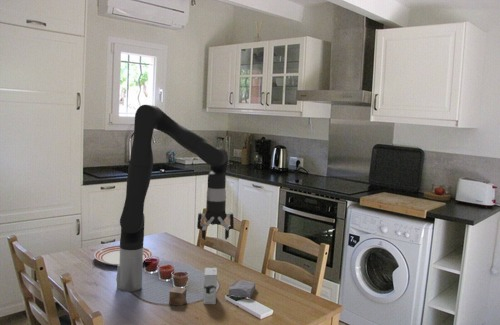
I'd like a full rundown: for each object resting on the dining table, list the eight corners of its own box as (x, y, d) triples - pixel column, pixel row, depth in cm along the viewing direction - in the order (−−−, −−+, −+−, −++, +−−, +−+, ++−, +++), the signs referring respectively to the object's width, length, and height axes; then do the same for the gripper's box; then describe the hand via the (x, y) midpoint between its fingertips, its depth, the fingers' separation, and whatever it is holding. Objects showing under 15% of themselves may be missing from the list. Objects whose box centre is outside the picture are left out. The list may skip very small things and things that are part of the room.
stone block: (227, 301, 179) (251, 300, 177) (225, 289, 179) (249, 288, 177) (234, 291, 191) (257, 289, 189) (233, 280, 191) (255, 278, 188)
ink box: (203, 295, 179) (204, 266, 178) (215, 295, 180) (217, 267, 178) (202, 304, 171) (204, 274, 169) (215, 304, 171) (217, 275, 170)
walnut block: (169, 304, 169) (169, 291, 169) (173, 298, 174) (174, 286, 174) (181, 305, 168) (182, 293, 168) (185, 300, 173) (186, 288, 173)
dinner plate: (164, 259, 219) (164, 252, 219) (121, 274, 196) (121, 267, 196) (126, 247, 234) (126, 241, 233) (81, 260, 211) (81, 253, 210)
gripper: (233, 197, 178) (232, 236, 180) (197, 196, 176) (196, 236, 178) (235, 200, 171) (234, 241, 173) (198, 200, 169) (197, 242, 171)
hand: (215, 239), depth 175 cm, fingers open, 8 cm apart
